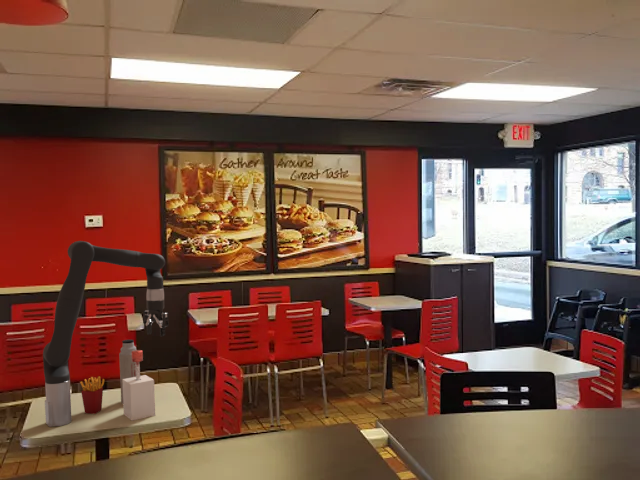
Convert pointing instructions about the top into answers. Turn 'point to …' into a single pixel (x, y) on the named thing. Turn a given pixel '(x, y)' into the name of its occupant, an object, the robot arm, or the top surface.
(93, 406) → the french fries
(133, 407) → the pump dispenser
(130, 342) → the thermos bottle
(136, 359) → the pump plunger
